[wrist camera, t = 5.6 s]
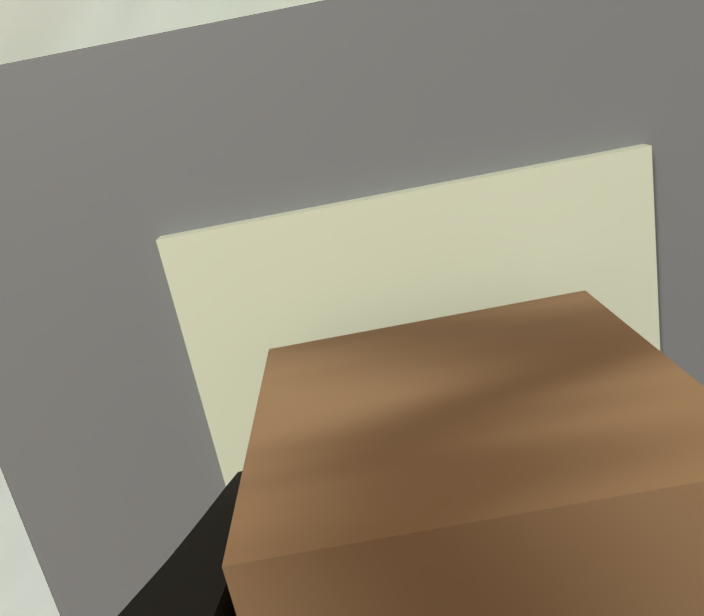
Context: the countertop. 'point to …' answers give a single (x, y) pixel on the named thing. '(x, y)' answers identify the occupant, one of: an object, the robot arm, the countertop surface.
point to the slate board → (312, 228)
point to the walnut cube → (474, 472)
